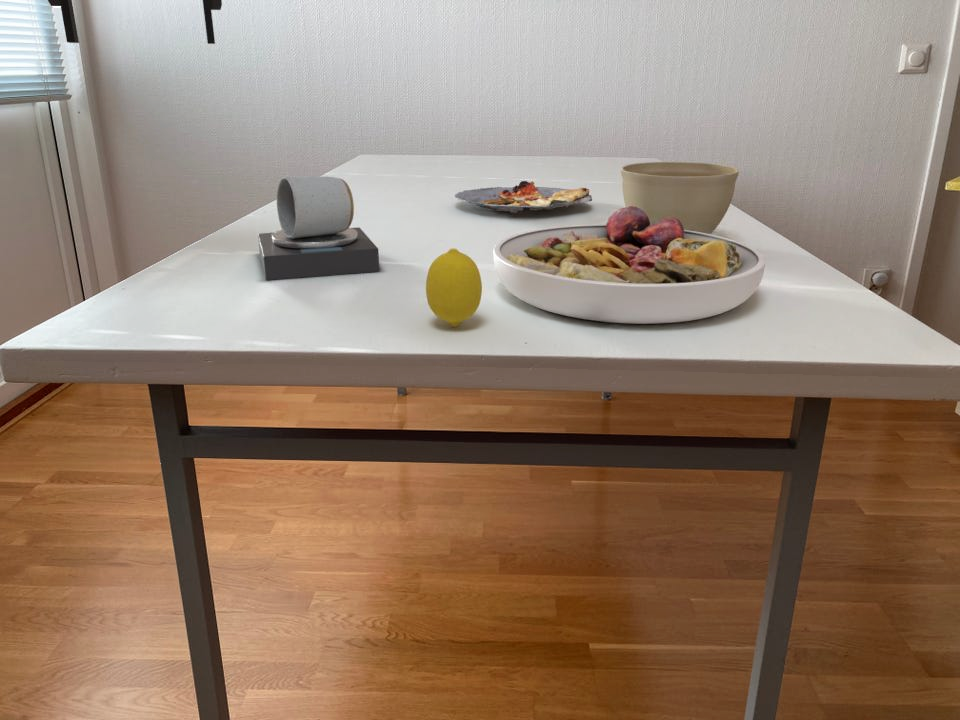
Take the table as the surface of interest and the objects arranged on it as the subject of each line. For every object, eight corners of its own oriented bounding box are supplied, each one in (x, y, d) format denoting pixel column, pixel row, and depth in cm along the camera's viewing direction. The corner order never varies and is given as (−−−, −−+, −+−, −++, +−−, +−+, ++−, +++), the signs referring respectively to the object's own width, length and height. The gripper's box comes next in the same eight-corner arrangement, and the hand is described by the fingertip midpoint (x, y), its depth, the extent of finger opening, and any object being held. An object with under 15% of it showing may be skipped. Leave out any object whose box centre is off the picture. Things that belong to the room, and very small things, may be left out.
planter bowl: (633, 228, 124) (638, 158, 120) (738, 238, 117) (747, 164, 113) (602, 249, 110) (606, 171, 107) (718, 261, 104) (728, 178, 100)
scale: (265, 280, 95) (263, 255, 94) (259, 255, 107) (257, 232, 106) (379, 271, 99) (378, 247, 98) (360, 248, 111) (359, 226, 110)
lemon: (488, 321, 80) (488, 244, 77) (471, 338, 75) (471, 256, 72) (438, 316, 81) (436, 240, 79) (418, 332, 77) (416, 252, 74)
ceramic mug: (359, 236, 100) (355, 174, 97) (298, 243, 95) (292, 179, 93) (326, 224, 108) (322, 167, 105) (269, 230, 104) (263, 171, 101)
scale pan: (275, 251, 95) (274, 245, 95) (269, 233, 105) (269, 227, 105) (364, 245, 98) (364, 239, 98) (350, 228, 108) (350, 223, 108)
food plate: (531, 192, 158) (531, 175, 157) (617, 208, 141) (619, 188, 140) (431, 206, 143) (430, 186, 142) (514, 225, 126) (514, 203, 125)
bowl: (783, 342, 74) (795, 261, 71) (472, 325, 78) (472, 248, 76) (739, 266, 101) (746, 205, 98) (511, 257, 106) (511, 199, 103)
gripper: (243, -174, 82) (263, 44, 89) (-28, -197, 74) (19, 43, 82) (245, -195, 75) (267, 43, 82) (-51, -222, 68) (2, 41, 75)
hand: (143, 43), depth 82 cm, fingers open, 13 cm apart
